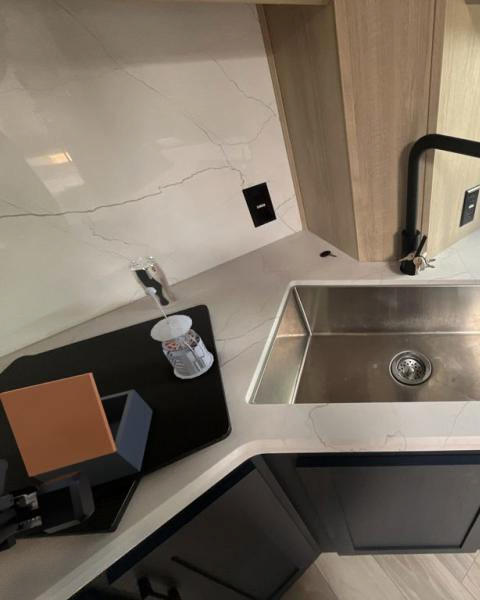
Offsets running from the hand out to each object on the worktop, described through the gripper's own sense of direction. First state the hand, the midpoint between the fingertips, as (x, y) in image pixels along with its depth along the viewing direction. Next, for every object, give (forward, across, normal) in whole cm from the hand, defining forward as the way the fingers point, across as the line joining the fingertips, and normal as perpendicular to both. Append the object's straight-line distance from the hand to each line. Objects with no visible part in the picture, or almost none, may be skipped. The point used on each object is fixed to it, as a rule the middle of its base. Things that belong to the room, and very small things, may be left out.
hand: (46, 491), depth 48 cm
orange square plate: (+6, 0, -9) cm, 11 cm away
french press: (+30, -14, -12) cm, 35 cm away
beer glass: (+51, -3, -32) cm, 60 cm away
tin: (+18, 0, 0) cm, 18 cm away
